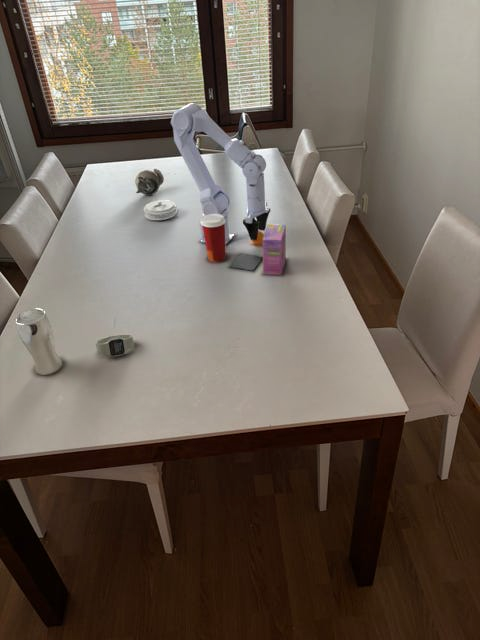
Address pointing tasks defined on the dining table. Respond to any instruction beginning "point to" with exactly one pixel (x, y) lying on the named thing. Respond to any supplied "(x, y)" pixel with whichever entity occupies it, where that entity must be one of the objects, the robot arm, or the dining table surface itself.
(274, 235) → the box
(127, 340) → the wristwatch
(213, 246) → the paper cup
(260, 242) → the clementine
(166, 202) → the lid
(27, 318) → the beer glass
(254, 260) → the felt pad
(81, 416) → the dining table surface
